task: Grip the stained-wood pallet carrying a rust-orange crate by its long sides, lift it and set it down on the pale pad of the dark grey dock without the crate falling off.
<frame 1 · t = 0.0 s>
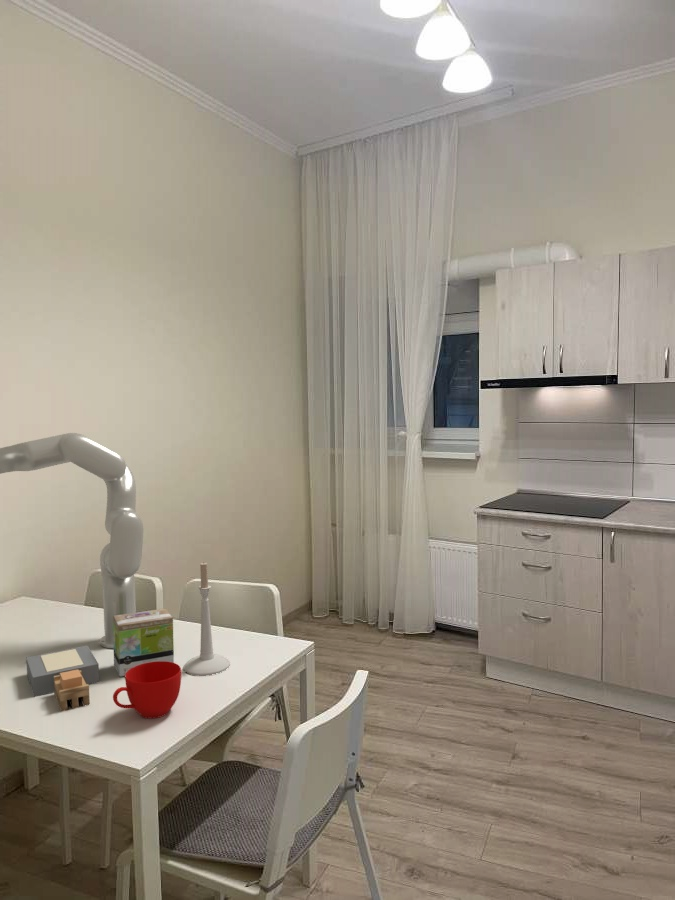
dock: (62, 678, 178), on the table
ceramic cup: (147, 715, 156), on the table
pallet: (71, 699, 165), on the table
tea box: (144, 667, 185), on the table
candlestick: (207, 667, 184), on the table
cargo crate: (71, 684, 164), point 4 cm above the table
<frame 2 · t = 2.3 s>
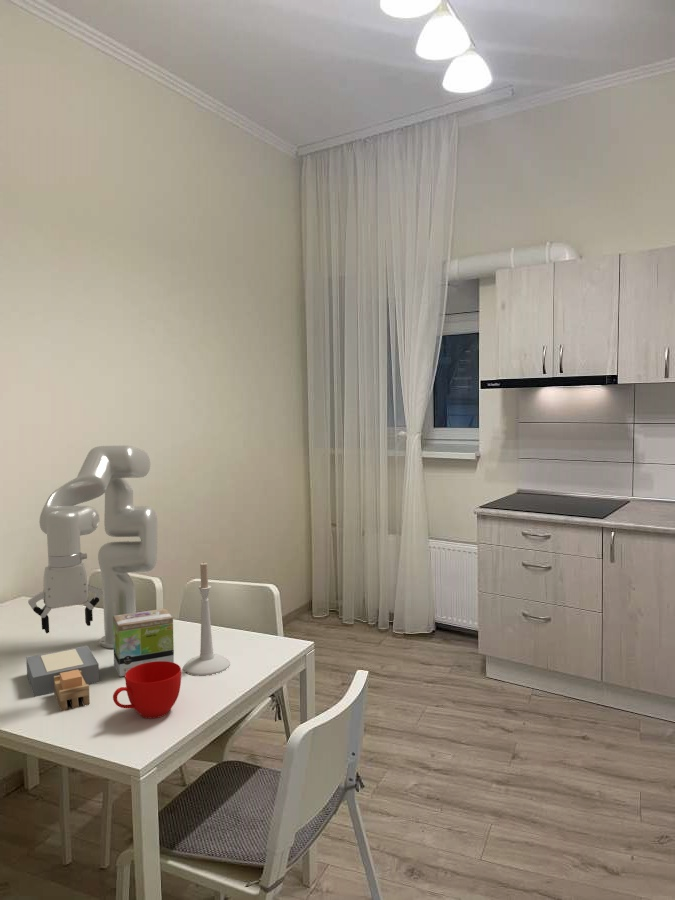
hand: (67, 627, 163), 18 cm above the table, tool pointing down, fingers open, 9 cm apart
pallet: (71, 700, 165), on the table, touching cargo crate
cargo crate: (71, 684, 164), point 4 cm above the table, touching pallet
everything else where it was.
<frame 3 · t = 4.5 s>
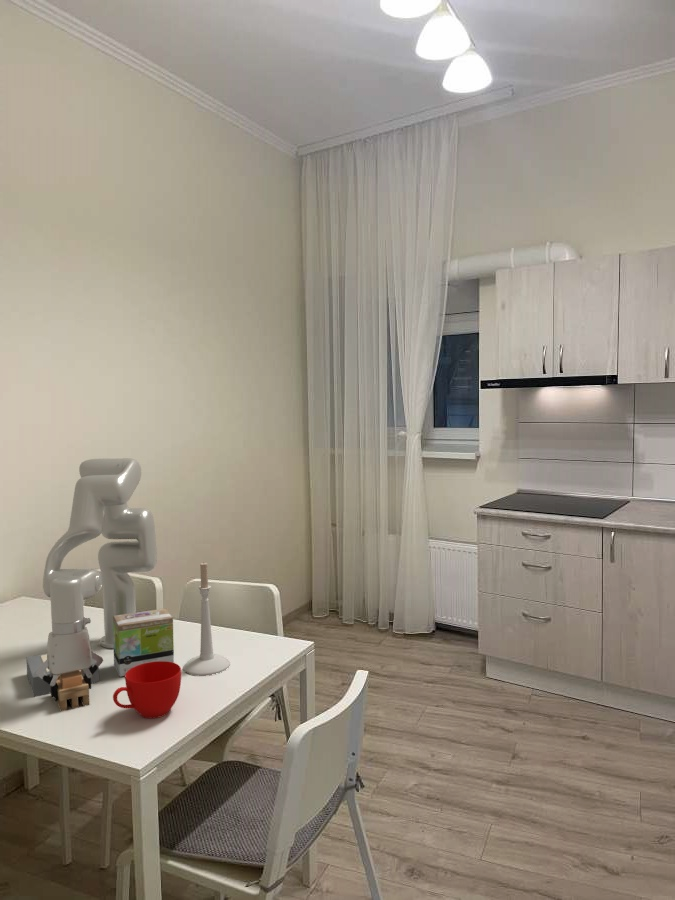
hand: (71, 695, 165), 1 cm above the table, tool pointing down, fingers closed on pallet, 6 cm apart
pallet: (71, 699, 165), on the table, touching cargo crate, gripper
everything else where it was.
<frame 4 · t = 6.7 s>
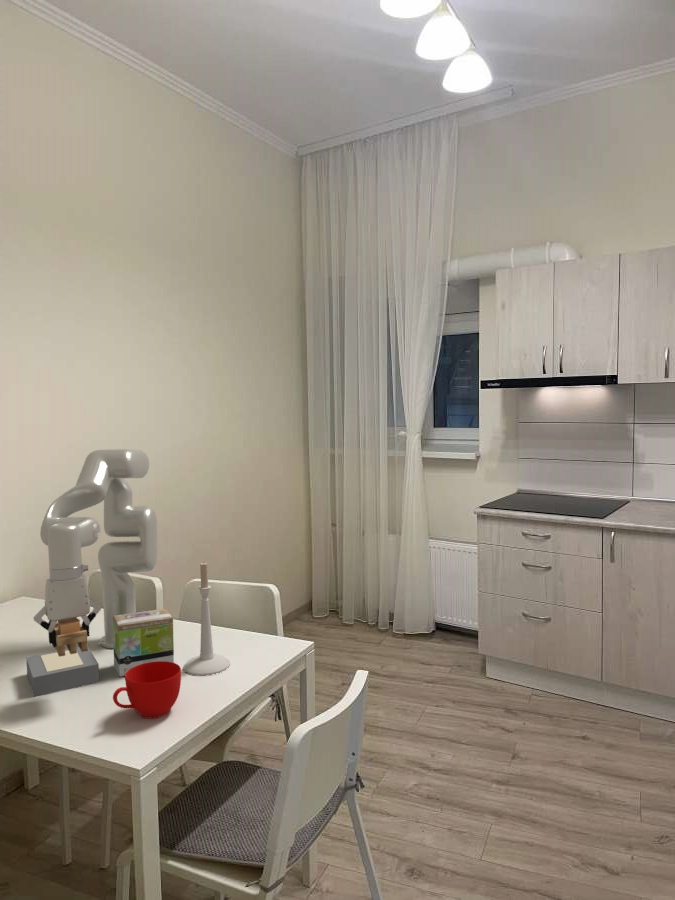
hand: (69, 642, 164), 15 cm above the table, tool pointing down, fingers closed on pallet, 6 cm apart
pallet: (69, 646, 164), point 14 cm above the table, touching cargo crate, gripper
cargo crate: (69, 631, 164), point 18 cm above the table, touching pallet
everything else where it was.
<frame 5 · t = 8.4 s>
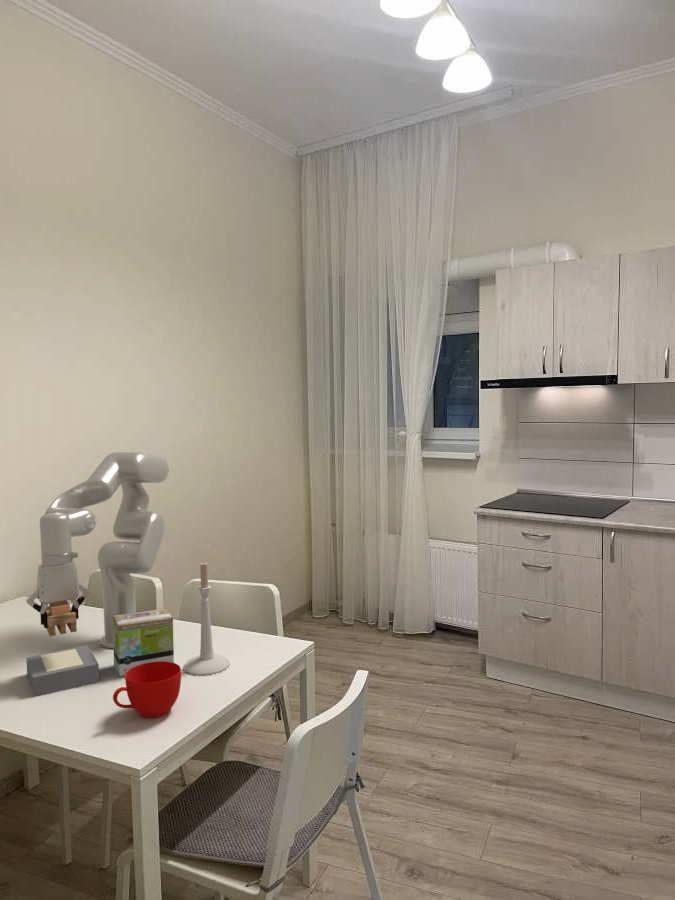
hand: (60, 623, 176), 15 cm above the table, tool pointing down, fingers closed on pallet, 6 cm apart
pallet: (60, 627, 177), point 14 cm above the table, touching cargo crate, gripper
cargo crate: (59, 613, 176), point 18 cm above the table, touching pallet
everything else where it was.
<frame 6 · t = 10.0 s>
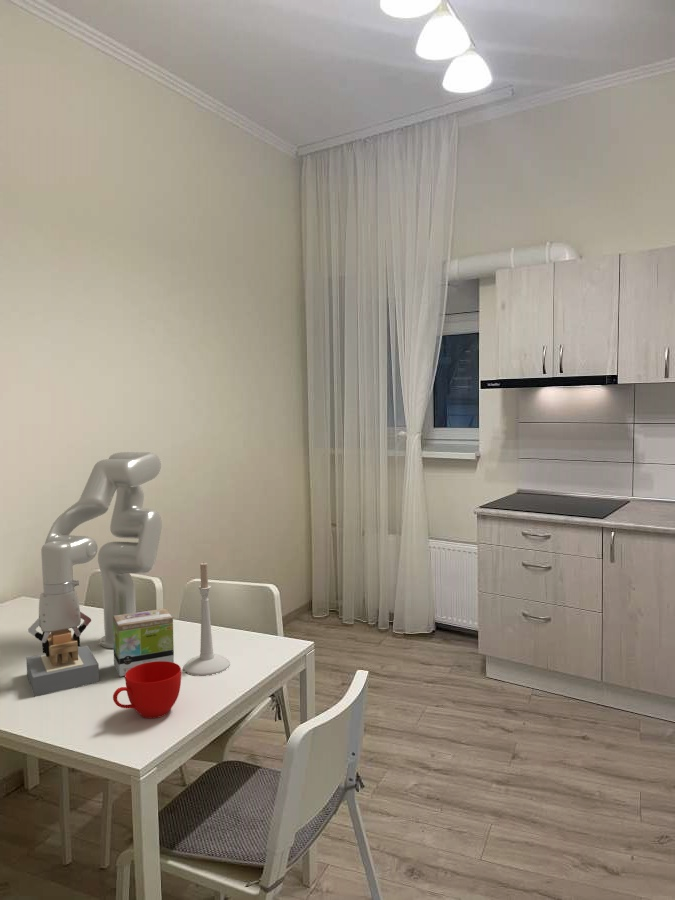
hand: (61, 651, 177), 7 cm above the table, tool pointing down, fingers closed on pallet, 6 cm apart
pallet: (61, 655, 177), point 6 cm above the table, touching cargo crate, gripper
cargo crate: (61, 641, 177), point 10 cm above the table, touching pallet
everything else where it was.
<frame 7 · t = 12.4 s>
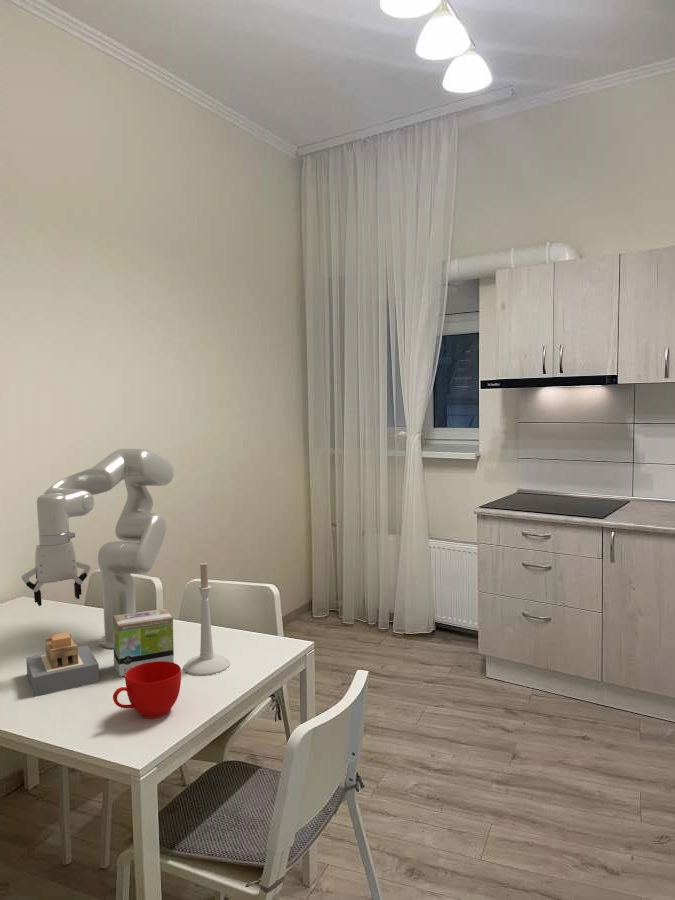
hand: (58, 601, 178), 21 cm above the table, tool pointing down, fingers open, 9 cm apart
pallet: (62, 659, 177), point 5 cm above the table, touching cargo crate, dock
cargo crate: (61, 645, 177), point 9 cm above the table, touching pallet
everything else where it was.
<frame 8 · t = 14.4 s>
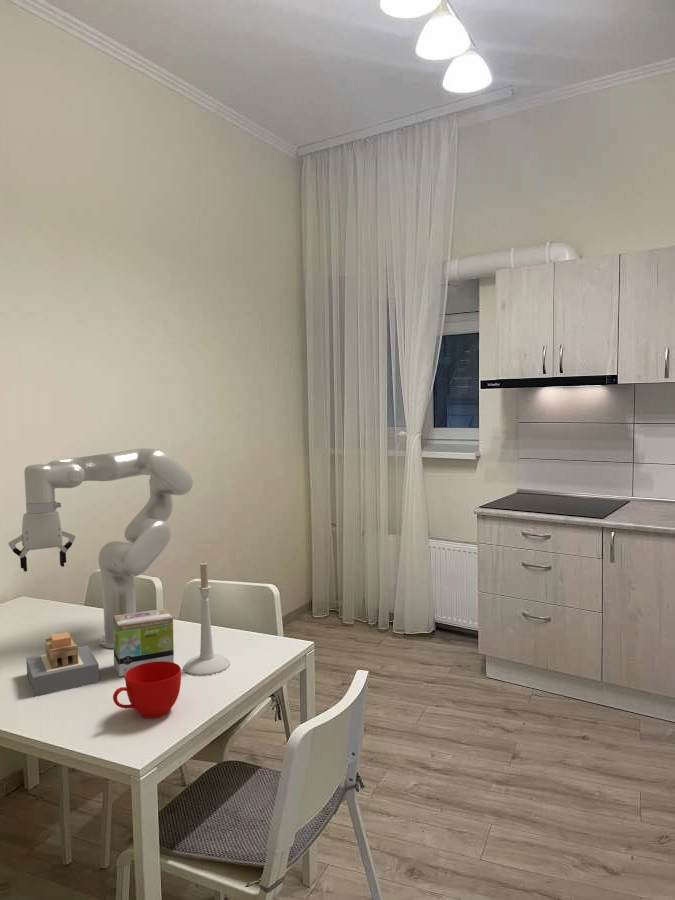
hand: (43, 568, 185), 28 cm above the table, tool pointing down, fingers open, 9 cm apart
nothing on the table moved.
at the end: pallet inside the target area on the dock (0.1 cm from its centre), point 5.2 cm above the dock's base; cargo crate 0.1 cm off-centre on the pallet, point 4.0 cm above the pallet's base; the gripper is holding nothing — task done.
